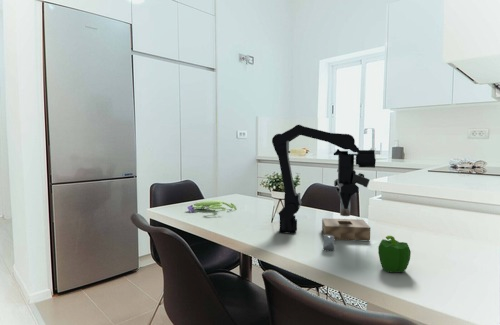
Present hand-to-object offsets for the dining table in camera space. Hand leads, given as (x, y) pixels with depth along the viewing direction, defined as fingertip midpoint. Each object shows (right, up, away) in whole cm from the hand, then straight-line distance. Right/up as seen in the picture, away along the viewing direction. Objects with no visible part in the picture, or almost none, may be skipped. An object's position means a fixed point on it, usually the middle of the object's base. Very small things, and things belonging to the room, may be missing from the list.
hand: (345, 207), depth 121 cm
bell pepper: (+4, -13, -32) cm, 35 cm away
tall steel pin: (0, -3, 0) cm, 3 cm away
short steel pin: (-10, -12, -15) cm, 22 cm away
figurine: (-57, -9, +45) cm, 73 cm away
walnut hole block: (0, -11, +1) cm, 11 cm away
